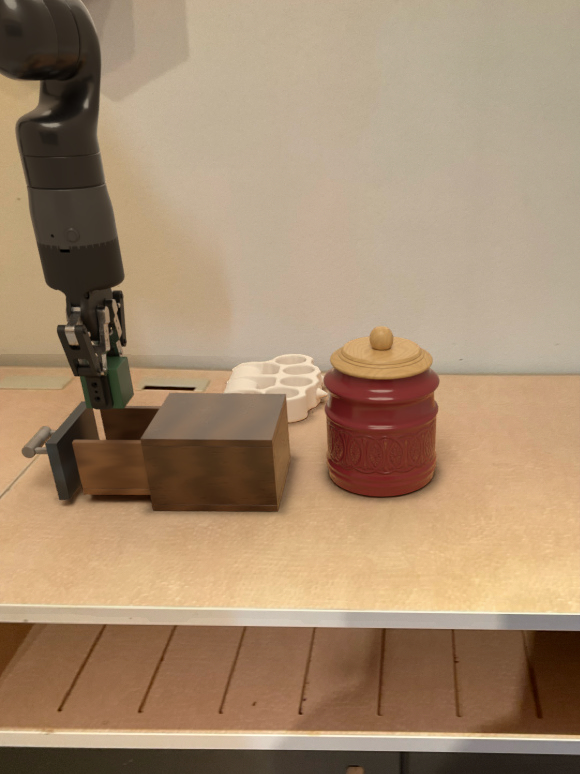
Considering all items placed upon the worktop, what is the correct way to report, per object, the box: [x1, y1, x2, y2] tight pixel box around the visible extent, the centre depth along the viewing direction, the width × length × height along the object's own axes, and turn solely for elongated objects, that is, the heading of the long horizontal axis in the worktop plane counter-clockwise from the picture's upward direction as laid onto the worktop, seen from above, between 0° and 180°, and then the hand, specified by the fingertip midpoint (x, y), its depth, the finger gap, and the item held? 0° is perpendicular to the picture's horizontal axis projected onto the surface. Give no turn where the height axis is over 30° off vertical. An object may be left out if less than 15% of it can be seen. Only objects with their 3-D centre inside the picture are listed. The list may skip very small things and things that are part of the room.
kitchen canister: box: [323, 325, 441, 497], centre depth 90 cm, size 13×13×18 cm
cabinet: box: [140, 392, 292, 512], centre depth 89 cm, size 14×13×9 cm
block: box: [79, 355, 135, 410], centre depth 85 cm, size 4×4×4 cm
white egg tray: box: [223, 353, 329, 424], centre depth 113 cm, size 3×18×15 cm
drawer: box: [21, 400, 161, 501], centre depth 89 cm, size 17×11×7 cm
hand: (109, 399), depth 86 cm, fingers closed on block, 4 cm apart
